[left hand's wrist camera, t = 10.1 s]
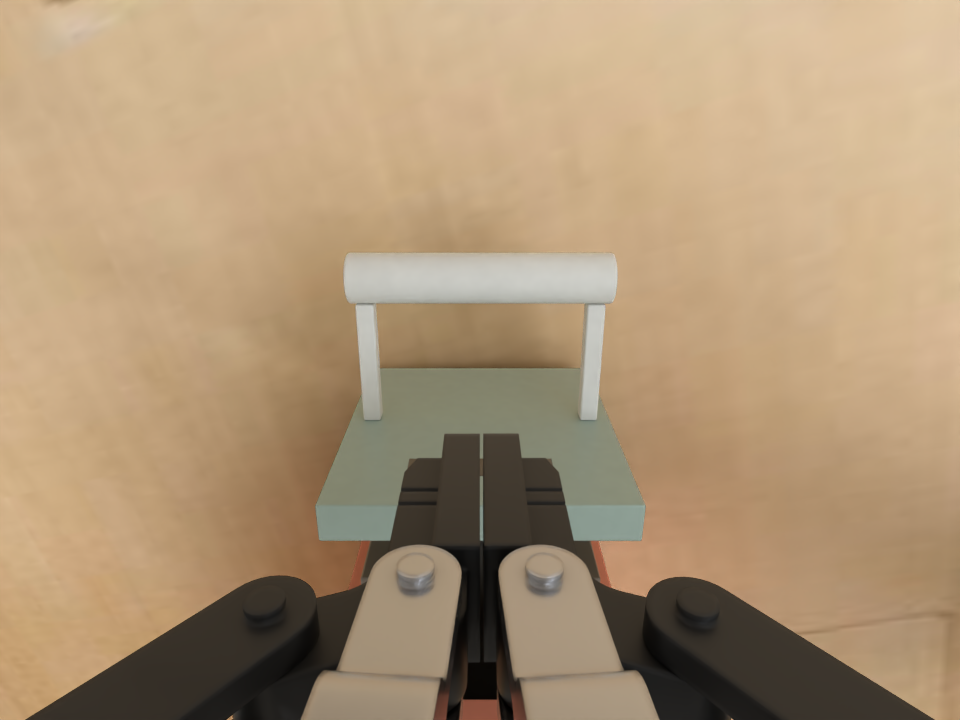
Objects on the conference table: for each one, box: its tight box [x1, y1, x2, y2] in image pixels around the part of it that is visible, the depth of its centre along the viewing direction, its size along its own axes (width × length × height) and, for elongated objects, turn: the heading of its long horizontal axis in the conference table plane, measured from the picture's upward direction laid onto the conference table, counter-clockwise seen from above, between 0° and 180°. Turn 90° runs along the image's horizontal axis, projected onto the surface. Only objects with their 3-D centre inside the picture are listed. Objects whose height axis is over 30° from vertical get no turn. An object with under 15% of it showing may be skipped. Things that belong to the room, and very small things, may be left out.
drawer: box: [315, 253, 646, 700], centre depth 24 cm, size 25×9×10 cm, turn 0°
